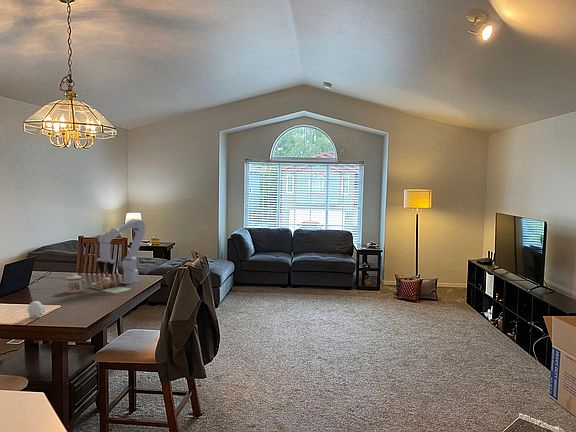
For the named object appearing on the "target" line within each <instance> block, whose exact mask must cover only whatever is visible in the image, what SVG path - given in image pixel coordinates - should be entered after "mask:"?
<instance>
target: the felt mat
mask: <svg viewBox="0 0 576 432" xmlns="http://www.w3.org/2000/svg"><path fill="white" fill-rule="evenodd" d="M130 290H132V288H128V287H123V286H120V285H119V286H116V287H110V288H105V289H103V290H101V291H102V292H106V293H112V294H119V293H123V292H126V291H130Z"/></svg>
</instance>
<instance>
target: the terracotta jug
mask: <svg viewBox="0 0 576 432" xmlns="http://www.w3.org/2000/svg"><path fill="white" fill-rule="evenodd" d="M99 282H100V285H101V286H103V289H110V288H111V286H110V282H111V278H110V277H102V278H101V280H100V281H99Z"/></svg>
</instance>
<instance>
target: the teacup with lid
mask: <svg viewBox="0 0 576 432" xmlns="http://www.w3.org/2000/svg"><path fill="white" fill-rule="evenodd" d="M65 280H66V293H68V294H77V293H81V292H82V291H83V288H86V286H87V283H88V281H87V280H86V279H83V277H82V276H81V275H78V274H76V273H75V272H73V273H71V275H69V276H66V278H65ZM83 282H84V283H85V284H84V285H83V284H82V283H83Z"/></svg>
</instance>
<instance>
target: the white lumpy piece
mask: <svg viewBox="0 0 576 432" xmlns="http://www.w3.org/2000/svg"><path fill="white" fill-rule="evenodd" d="M45 312H46V307H45V306H44V305H43V304H42V303H41V302H40V301H39V300H35V301H32V302H30V303H29V304H28V307H27V313H28V315H29V319H33V318H34V317H36V318H38V319H39V318H40V319H41V318H42V317H43V316H42V315H43V313H44V314H45Z"/></svg>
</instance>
